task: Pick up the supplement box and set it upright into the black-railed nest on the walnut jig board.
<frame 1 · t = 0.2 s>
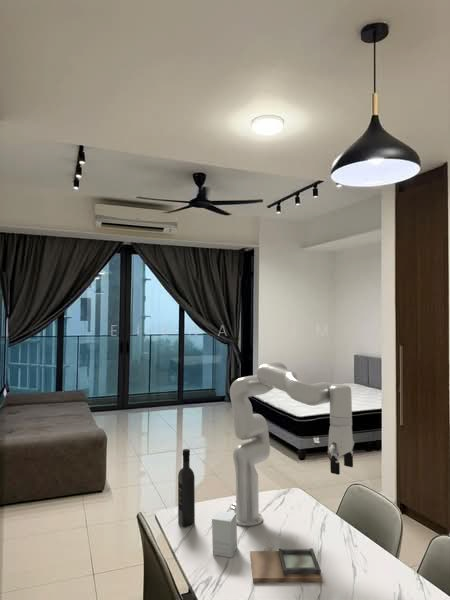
hand: (342, 469, 148), 31 cm above the table, tool pointing down, fingers open, 9 cm apart
wine bottle: (186, 524, 175), on the table
supplement box: (224, 551, 154), on the table
jig board: (284, 568, 143), on the table
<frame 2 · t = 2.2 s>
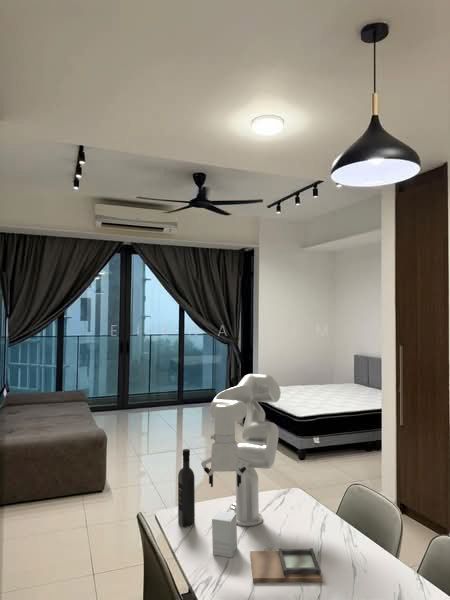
hand: (225, 485, 155), 23 cm above the table, tool pointing down, fingers open, 9 cm apart
nothing on the table moved.
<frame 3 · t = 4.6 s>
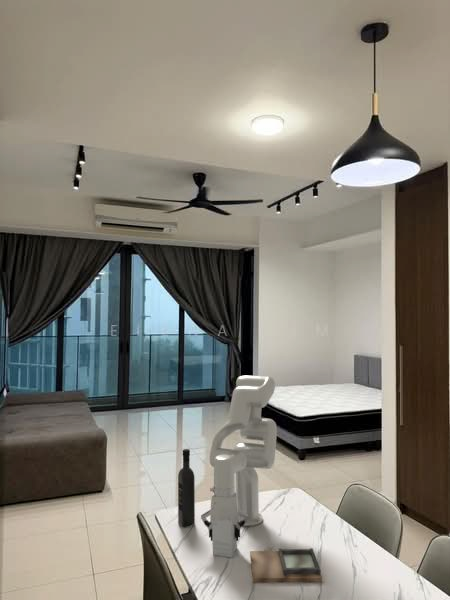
hand: (224, 539, 154), 4 cm above the table, tool pointing down, fingers closed on supplement box, 8 cm apart
supplement box: (224, 551, 154), on the table, touching gripper
everything else where it was.
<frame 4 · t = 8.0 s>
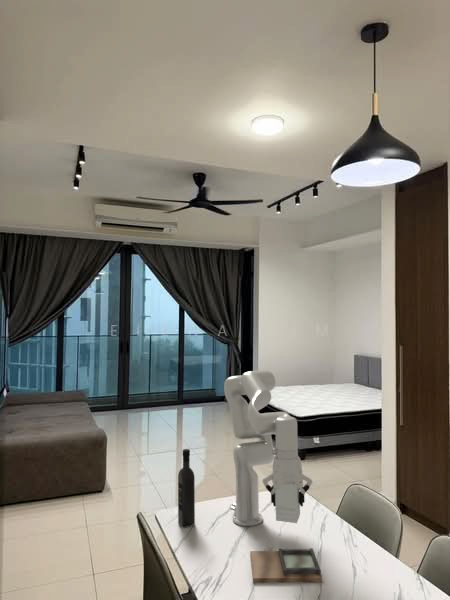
hand: (287, 504, 145), 20 cm above the table, tool pointing down, fingers closed on supplement box, 8 cm apart
supplement box: (288, 518, 145), point 16 cm above the table, touching gripper
everything else where it was.
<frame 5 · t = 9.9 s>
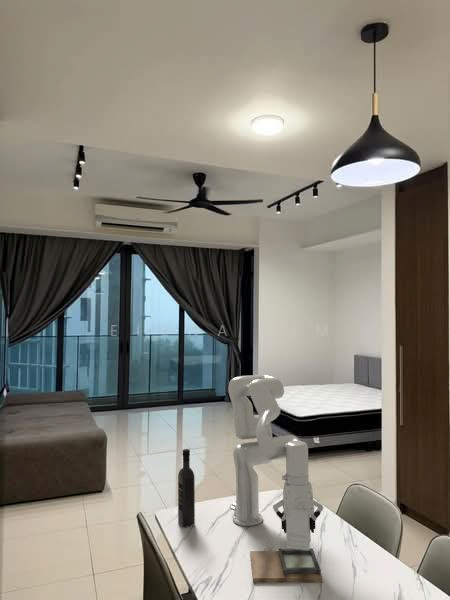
hand: (298, 530, 143), 12 cm above the table, tool pointing down, fingers closed on supplement box, 8 cm apart
supplement box: (298, 544, 143), point 8 cm above the table, touching gripper
everything else where it was.
when the fingers open (6 cm above the table, at t = 11.6 s): supplement box stays where it is, resting on jig board.
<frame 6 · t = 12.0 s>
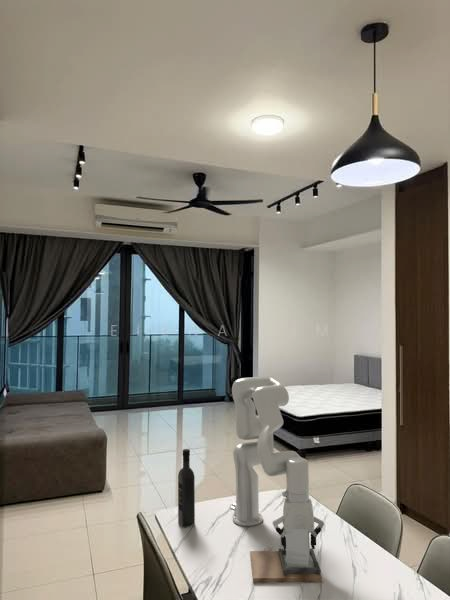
hand: (298, 547, 143), 7 cm above the table, tool pointing down, fingers open, 9 cm apart
supplement box: (298, 563, 143), point 1 cm above the table, touching jig board
everything else where it was.
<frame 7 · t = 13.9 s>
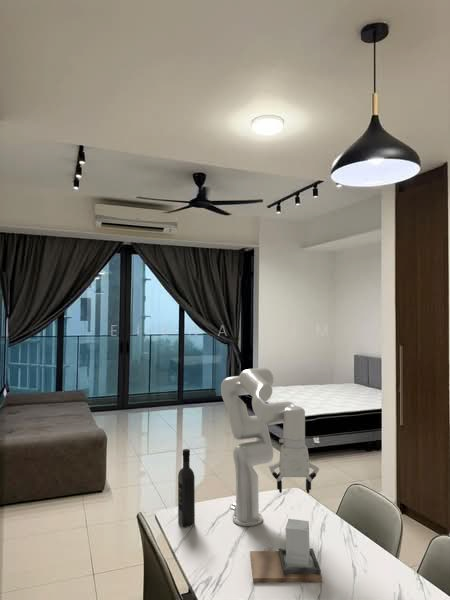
hand: (293, 491, 149), 23 cm above the table, tool pointing down, fingers open, 9 cm apart
nothing on the table moved.
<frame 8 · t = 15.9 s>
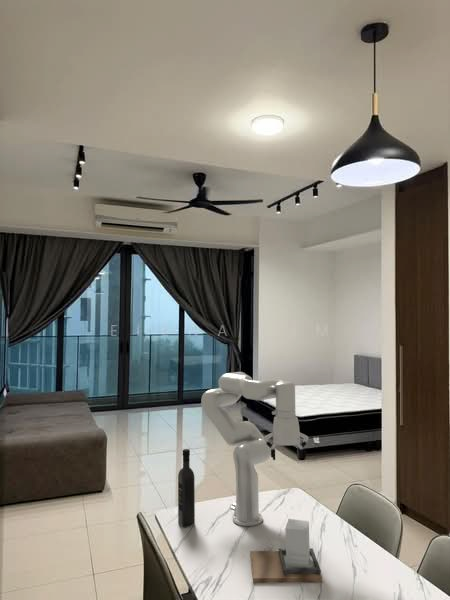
hand: (286, 459, 163), 30 cm above the table, tool pointing down, fingers open, 9 cm apart
nothing on the table moved.
at the end: supplement box 0.3 cm from the target spot on the jig board, point 1.5 cm above the jig board's base; supplement box tilted 0°; the gripper is holding nothing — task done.
